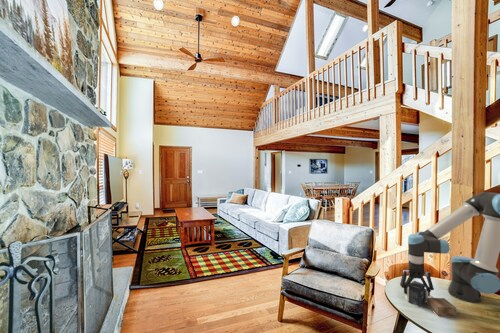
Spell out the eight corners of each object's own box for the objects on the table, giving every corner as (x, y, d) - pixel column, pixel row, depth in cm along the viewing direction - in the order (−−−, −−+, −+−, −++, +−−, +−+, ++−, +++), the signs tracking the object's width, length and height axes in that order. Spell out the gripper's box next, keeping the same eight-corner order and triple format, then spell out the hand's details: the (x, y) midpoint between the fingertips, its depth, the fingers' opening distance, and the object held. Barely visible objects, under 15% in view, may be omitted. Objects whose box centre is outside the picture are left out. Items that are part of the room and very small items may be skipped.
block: (444, 307, 135) (444, 298, 135) (456, 317, 126) (456, 307, 126) (427, 306, 136) (427, 297, 136) (437, 316, 127) (437, 306, 127)
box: (419, 306, 135) (419, 288, 135) (408, 302, 140) (408, 284, 140) (425, 302, 140) (425, 284, 140) (414, 297, 144) (414, 280, 144)
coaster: (430, 294, 147) (430, 293, 147) (438, 302, 139) (438, 301, 139) (413, 293, 149) (413, 292, 149) (420, 301, 141) (420, 300, 141)
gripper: (434, 260, 141) (434, 298, 141) (393, 258, 146) (393, 295, 146) (441, 265, 134) (442, 306, 134) (397, 263, 138) (398, 301, 138)
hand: (416, 300), depth 140 cm, fingers closed on box, 9 cm apart
